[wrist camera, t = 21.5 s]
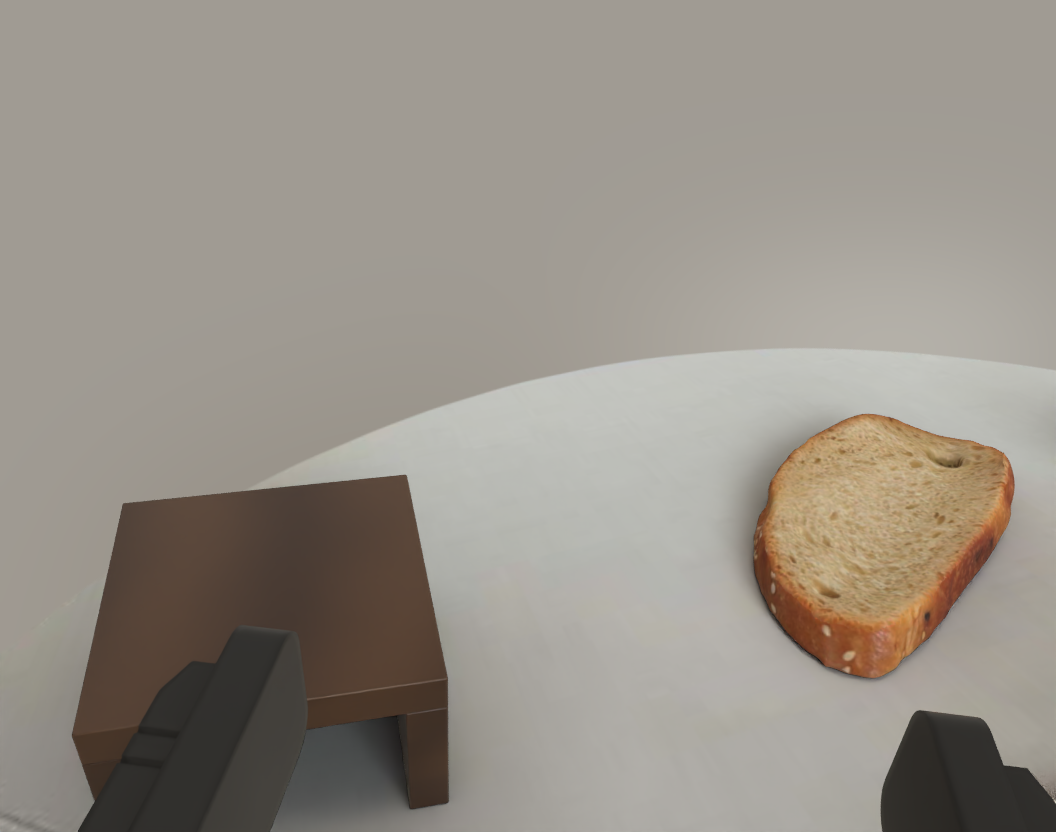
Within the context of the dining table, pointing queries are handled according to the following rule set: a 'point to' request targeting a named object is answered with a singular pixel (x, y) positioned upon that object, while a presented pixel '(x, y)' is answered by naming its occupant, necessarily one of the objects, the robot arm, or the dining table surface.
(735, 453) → the dining table surface
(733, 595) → the dining table surface
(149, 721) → the robot arm
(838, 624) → the bread slice
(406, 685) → the shelf
